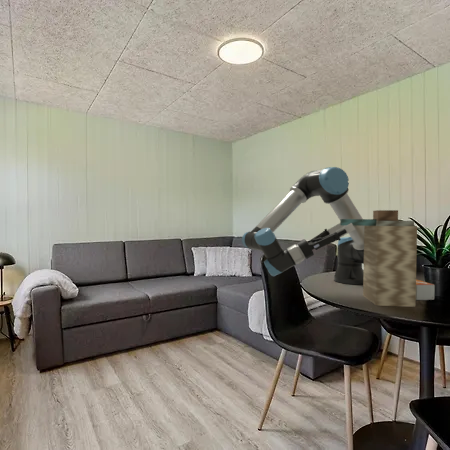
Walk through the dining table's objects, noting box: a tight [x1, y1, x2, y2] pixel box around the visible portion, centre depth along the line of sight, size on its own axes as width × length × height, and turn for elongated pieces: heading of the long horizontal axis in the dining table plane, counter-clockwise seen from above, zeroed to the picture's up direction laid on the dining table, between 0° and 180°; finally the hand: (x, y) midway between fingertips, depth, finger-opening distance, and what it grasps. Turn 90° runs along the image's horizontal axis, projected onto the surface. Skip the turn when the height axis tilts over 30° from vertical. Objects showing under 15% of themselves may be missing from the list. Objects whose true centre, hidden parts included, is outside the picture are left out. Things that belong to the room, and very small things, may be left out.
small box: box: [416, 278, 436, 301], centre depth 128 cm, size 8×6×13 cm
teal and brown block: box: [339, 209, 399, 226], centre depth 120 cm, size 20×7×6 cm, turn 78°
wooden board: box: [362, 220, 418, 308], centre depth 120 cm, size 14×14×32 cm
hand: (348, 225), depth 120 cm, fingers open, 13 cm apart
